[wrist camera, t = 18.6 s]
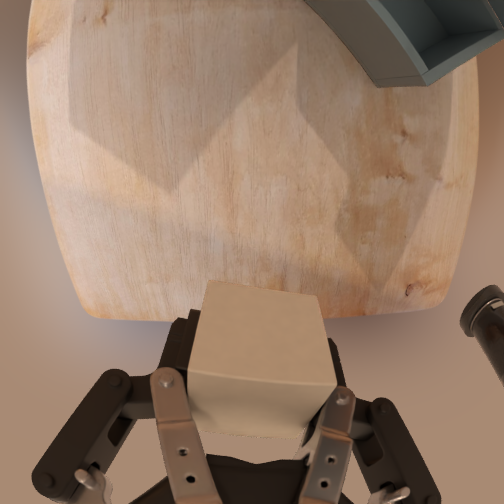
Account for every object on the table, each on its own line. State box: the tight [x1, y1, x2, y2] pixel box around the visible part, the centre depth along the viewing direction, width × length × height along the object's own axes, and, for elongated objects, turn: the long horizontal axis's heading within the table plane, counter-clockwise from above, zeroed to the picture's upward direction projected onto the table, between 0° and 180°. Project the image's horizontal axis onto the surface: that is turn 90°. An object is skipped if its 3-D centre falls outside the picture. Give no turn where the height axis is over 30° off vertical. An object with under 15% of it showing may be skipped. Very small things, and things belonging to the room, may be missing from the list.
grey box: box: [304, 0, 504, 88], centre depth 14 cm, size 14×13×10 cm
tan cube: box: [187, 280, 337, 439], centre depth 12 cm, size 5×5×5 cm
